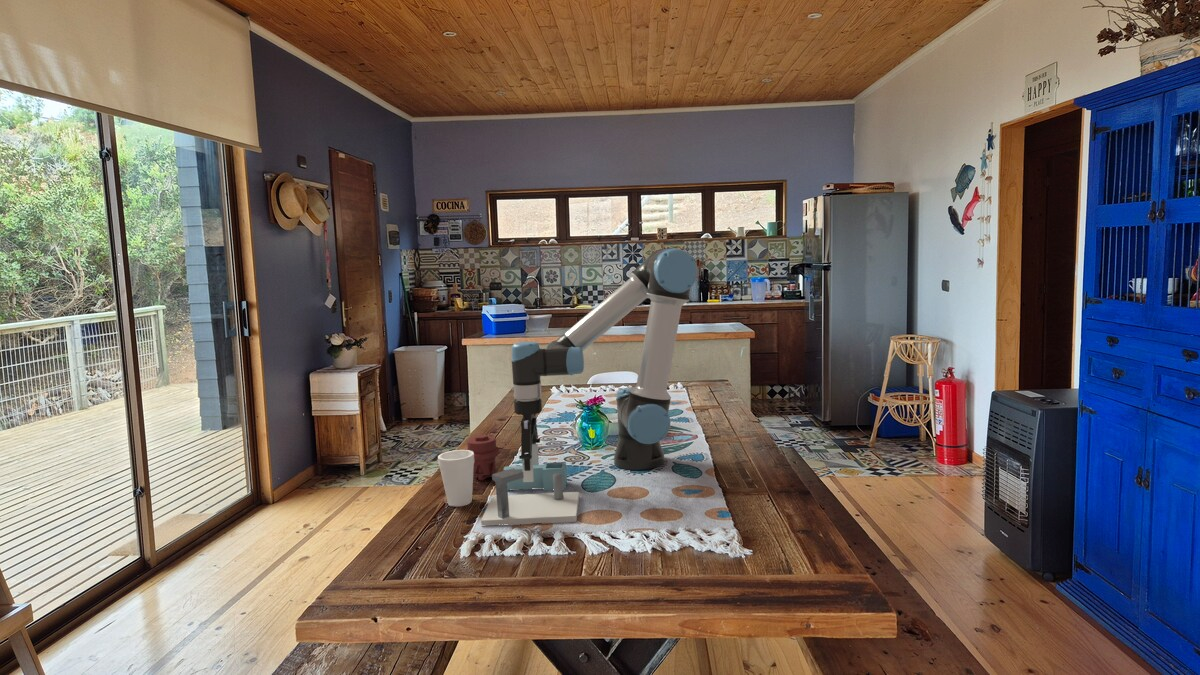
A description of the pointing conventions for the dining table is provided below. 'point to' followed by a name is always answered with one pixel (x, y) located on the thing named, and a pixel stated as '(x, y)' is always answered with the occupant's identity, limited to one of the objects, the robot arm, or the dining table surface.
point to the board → (536, 507)
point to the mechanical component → (483, 455)
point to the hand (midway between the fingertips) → (531, 473)
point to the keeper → (504, 489)
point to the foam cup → (457, 476)
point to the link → (540, 476)
